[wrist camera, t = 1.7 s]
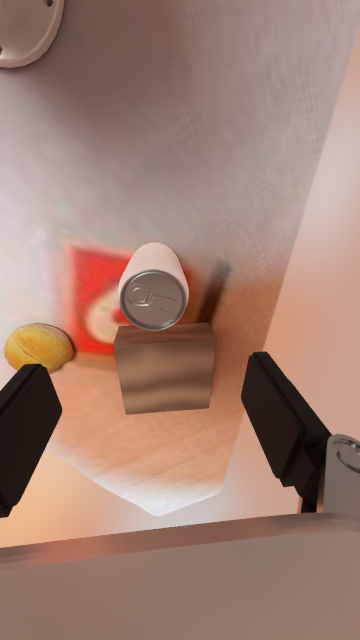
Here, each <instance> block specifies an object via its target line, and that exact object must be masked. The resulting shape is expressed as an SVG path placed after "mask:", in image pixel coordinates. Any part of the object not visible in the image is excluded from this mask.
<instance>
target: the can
mask: <svg viewBox="0 0 360 640" xmlns="http://www.w3.org/2000/svg"><path fill="white" fill-rule="evenodd" d="M118 298H119V302H120V306H121V310H122V312H123V314H124V315H125V317H126V318H127V319H128V320H129V321H130V322H131V323H132V324H133V325H135V326H137V327H139V328H141V329H144V330H149V331H159V330H164V329H167V328H169V327H171V326H173V325H174V324H176V323H177V322H178V321H179V320H180V319H181V317H182V316H183V314H184V312H185V309H186V306H187V303H188V299H189V289H188V284H187V281H186V278H185V275H184V273H183V270H182V268H181V265H180V263H179V260H178V258H177V256H176V254H175V253H174V252H173V251H172V250H171V249H170V248H169V247H168V246H166V245H164V244H161V243H147V244H145V245H143V246H141V247H140V248H138V249H137V250H136V251H135V253H134V254H133V256H132V258H131V260H130V262H129V263H128V265H127V267H126V269H125V271H124V273H123V275H122V277H121V280H120V282H119V287H118Z"/></svg>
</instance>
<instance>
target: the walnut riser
mask: <svg viewBox="0 0 360 640" xmlns="http://www.w3.org/2000/svg"><path fill="white" fill-rule="evenodd" d="M216 341H217V340H216V338H215V336H214V333H213V331H212V329H211V327H210V324H209V323H188V324H174V325H173V326H171V327H169V328H167V329H164V330H159V331H149V330H144V329H141V328H139V327H137V326H119V329H118V332H117V335H116V338H115V341H114V344H113V348H114V353H115V359H116V364H117V370H118V375H119V380H120V386H121V391H122V396H123V402H124V407H125V413H126V415H128V414H141V413H154V412H166V411H179V410H192V409H205V408H209V405H210V396H211V386H212V377H213V368H214V359H215V350H216Z"/></svg>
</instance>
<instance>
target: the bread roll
mask: <svg viewBox="0 0 360 640" xmlns="http://www.w3.org/2000/svg"><path fill="white" fill-rule="evenodd" d="M4 353H5V357H6V359H7V361H8V363H9V364H10V365H11V366H12V367H13V368H14V369H16V370H17V371H18V370H19V369H20V368H21V367H22V366H23V365H25V364H35V363H40V364H42V365H43V366H45V367H46V368H47V370H48V373H49V374H52V373H53V372H55V371H56V370H57V369H58V368H59V367H60V365H61V364H65V363H67V362H68V361H69V360H70V359H71V358H72V355H73V350H72V346H71V343H70V341H69V339H68V337H67V335H66V334H65V333H63V332H62V331H61V330H59V329H57V328H55V327H53V326H50V325H45V324H36V323H34V324H28V325H25V326H22V327H20V328H18V329H16V330H15V331H14V332H13V333H12V334H11V336H10V337H9V338H8V339H7V341H6V344H5V348H4Z"/></svg>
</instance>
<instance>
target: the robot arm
mask: <svg viewBox="0 0 360 640" xmlns="http://www.w3.org/2000/svg"><path fill="white" fill-rule="evenodd" d="M64 2H65V0H0V52H1V51H2V53H1V54H0V67H7V68H14V67H21V66H25V65H27V64H30V63H32V62H34V61H36V60H37V59H38V58H39V57H40V56H42V55H43V54H44V53H45V52H46V51H47V50H48V48H49V46H50V45H51V43H52V42H53V40H54V39H55V36H56V34H57V31H58V28H59V25H60V23H61V19H62V13H63V7H64ZM50 3H52V5H51V6H49V5H50ZM241 399H242V403H243V405H244V407H245V410H246V412H247V414H248V416H249V419H250V421H251V423H252V426H253V428H254V430H255V432H256V435H257V437H258V439H259V442H260V444H261V446H262V449H263V451H264V453H265V455H266V458H267V460H268V462H269V465H270V467H271V469H272V472H273V474H274V475H275V477H276V478H279V479H280V481H281V483H282V485H283V487H289V486H294V487H295V489H296V491H297V493H298V495H299V503H298V510H297V514H290V515H279V516H267V517H256V518H247V519H239V520H230V521H221V522H212V523H204V524H195V525H186V526H178V527H169V528H161V529H153V530H144V531H136V532H127V533H119V534H110V535H102V536H94V537H86V538H78V539H69V540H61V541H54V542H46V543H38V544H30V545H21V546H14V547H6V548H0V640H360V441H358V440H356V439H354V438H352V437H349V436H346V435H341V434H336V435H332V434H331V433H330V432H329V430H328V429H327V428H326V427H325V425H324V424H323V423H322V422H321V420H320V419H319V418H318V416H317V415H316V414H315V412H314V411H313V410H312V408H310V406H309V405H308V403H307V402H306V401H305V399H304V398H303V397H302V396H301V394H300V393H299V392H298V390H297V389H296V388H295V386H294V385H293V384H292V383H291V382H290V381H289V380H288V379H287V377H286V376H285V375H284V373H283V372H282V371H281V369H280V368H279V367H278V366H277V364H276V363H275V362H274V360H273V359H272V358H271V356H270V355H269V354H268V353H267V352H254V353H253V354H252V355H250V356H249V360H248V364H247V369H246V374H245V379H244V384H243V389H242V394H241ZM61 414H62V406H61V404H60V401H59V399H58V396H57V393H56V391H55V388H54V386H53V383H52V381H51V378H50V376H49V373H48V370H47V368H46V367H45V366H43V365H42V364H40V363H35V364H25V365H23V366H22V367H21V368H20V369H19V370H18V372H17V373H16V374H15V375H14V376H13V377H12V378H11V379H10V381H9V382H8V383H7V384H6V385H5V386H4V387H3V388H2V390H1V391H0V518H3V517H8V516H9V514H10V512H11V510H12V508H13V506H15V505H17V504H18V502H19V501H20V499H21V497H22V495H23V493H24V491H25V488H26V487H27V485H28V483H29V481H30V478H31V477H32V474H33V472H34V470H35V468H36V466H37V464H38V462H39V460H40V458H41V456H42V454H43V452H44V450H45V448H46V445H47V443H48V441H49V439H50V437H51V435H52V433H53V431H54V429H55V427H56V425H57V423H58V421H59V419H60V416H61Z"/></svg>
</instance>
